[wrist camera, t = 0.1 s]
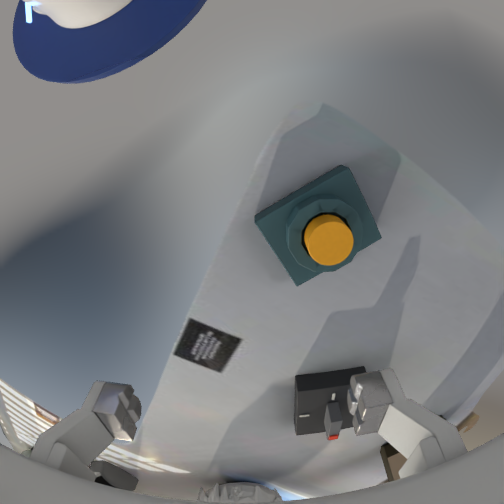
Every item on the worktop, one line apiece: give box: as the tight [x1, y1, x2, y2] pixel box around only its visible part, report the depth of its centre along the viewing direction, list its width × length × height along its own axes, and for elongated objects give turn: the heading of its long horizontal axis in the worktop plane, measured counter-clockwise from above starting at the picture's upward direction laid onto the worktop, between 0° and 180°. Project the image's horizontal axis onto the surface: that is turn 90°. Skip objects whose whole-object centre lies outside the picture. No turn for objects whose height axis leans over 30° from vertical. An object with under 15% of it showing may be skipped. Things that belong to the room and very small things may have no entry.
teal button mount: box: [255, 165, 381, 286], centre depth 27 cm, size 10×8×4 cm
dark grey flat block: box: [294, 366, 367, 435], centre depth 39 cm, size 12×10×3 cm
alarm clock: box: [90, 461, 138, 492], centre depth 49 cm, size 16×10×18 cm, turn 34°
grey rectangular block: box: [324, 402, 343, 440], centre depth 36 cm, size 5×2×4 cm, turn 5°
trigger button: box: [304, 214, 354, 265], centre depth 25 cm, size 4×4×2 cm
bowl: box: [197, 482, 282, 503], centre depth 51 cm, size 21×20×10 cm
